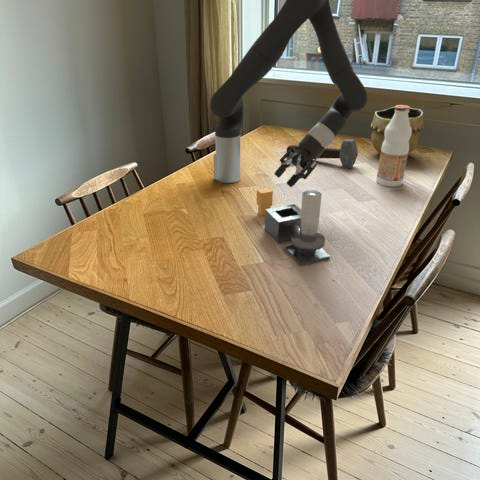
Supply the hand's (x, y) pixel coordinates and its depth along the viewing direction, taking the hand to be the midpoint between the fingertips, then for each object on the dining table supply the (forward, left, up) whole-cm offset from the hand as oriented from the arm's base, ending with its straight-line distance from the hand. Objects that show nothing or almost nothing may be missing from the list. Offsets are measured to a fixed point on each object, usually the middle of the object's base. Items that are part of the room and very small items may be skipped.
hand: (282, 180), depth 139 cm
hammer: (-4, +50, -11) cm, 52 cm away
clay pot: (+22, +71, -11) cm, 75 cm away
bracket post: (+12, -18, -10) cm, 24 cm away
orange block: (-4, -5, -10) cm, 12 cm away
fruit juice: (+27, +41, -11) cm, 50 cm away
